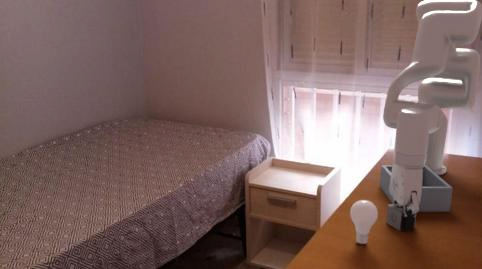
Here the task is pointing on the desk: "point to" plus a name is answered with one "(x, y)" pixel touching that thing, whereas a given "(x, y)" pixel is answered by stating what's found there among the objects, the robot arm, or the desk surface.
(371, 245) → the desk surface
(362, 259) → the desk surface
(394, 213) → the dice cube
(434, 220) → the desk surface
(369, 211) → the lightbulb
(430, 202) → the box
